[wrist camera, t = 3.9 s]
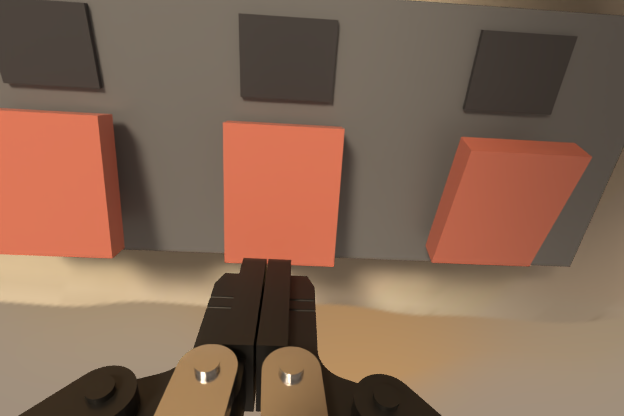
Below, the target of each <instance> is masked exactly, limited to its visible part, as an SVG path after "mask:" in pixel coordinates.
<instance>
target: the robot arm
mask: <svg viewBox="0 0 624 416" xmlns="http://www.w3.org/2000/svg"><path fill="white" fill-rule="evenodd" d="M255 394H256V411H260V412H261V416H441V415H440V414H439V413H438V412H436V411H435V410H434V409H433V408H432V407H431V406H430V405H429V404H427V403H426V402H425V401H424V400H423V399H422V398H420V397H419V396H418V395H417V394H416V393H415V392H414V391H412V390H411V389H410V388H409V387H408V386H407V385H405V384H404V383H403V382H402V381H400V380H398V379H397V378H394V377H392V376H388V375H384V374H374V375H370V376H367V377H365V378H363V379H362V380H361V381H360V382H359V383H355V382H352V381H349V380H346V379H343V378H340V377H338V376H336V375H334V374H333V373H331V372H330V371H329V370H328V369H326V368H325V366H324V365H323V364H322V363H321V361H320V359H319V356H318V351H317V330H316V312H315V290H314V286H313V284H312V283H311V281H310V280H309V278H308V277H307V276H291V260H285V259H268V266H267V259H260V258H243V261H242V265H241V269H240V273H239V274H234V273H225V274H224V275H223V276H222V277H221V278H220V279H219V280H218V281H217V282H216V283H215V285H214V288H213V291H212V294H211V298H210V300H209V303H208V306H207V309H206V312H205V315H204V318H203V321H202V324H201V327H200V330H199V333H198V336H197V339H196V342H195V345H194V348H193V349H192V350H190V351H189V352H187V353H186V354H185V355H184V356H183V357H182V358H181V359H180V361H179V362H178V364H177V366H176V367H175V368H173V369H171V370H169V371H166V372H164V373H160V374H157V375H152V376H148V377H144V378H140V379H136V376H135V374H134V373H133V372H132V371H131V370H129V369H128V368H125V367H122V366H106V367H102V368H98V369H95V370H93V371H91V372H89V373H87V374H86V375H84V376H82V377H80V378H79V379H77V380H76V381H74V382H72V383H71V384H69V385H68V386H66V387H64V388H63V389H61V390H59V391H58V392H56V393H55V394H53V395H52V396H50V397H48V398H46V399H45V400H43V401H42V402H40V403H39V404H37V405H35V406H34V407H32V408H30V409H29V410H27V411H25V412H24V413H22V414H21V415H19V416H243V415H244V411H252V412H253V411H254V403H255Z"/></svg>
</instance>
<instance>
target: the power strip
mask: <svg viewBox="0 0 624 416" xmlns="http://www.w3.org/2000/svg"><path fill="white" fill-rule="evenodd" d="M0 108H10V109H28V110H46V111H64V112H83V113H101V114H112V117H113V128H114V138H115V149H116V160H117V170H118V181H119V192H120V202H121V213H122V224H123V234H124V245H125V248H124V249H129V250H154V251H180V252H206V253H224V172H223V122H226V121H247V122H265V123H283V124H301V125H319V126H337V127H342V128H344V129H345V131H344V144H343V156H342V169H341V182H340V194H339V207H338V219H337V232H336V244H335V257H334V258H360V259H386V260H412V261H431V259H430V257H429V254H428V251H427V249H426V246H425V245H426V242H427V239H428V236H429V233H430V230H431V227H432V224H433V221H434V218H435V215H436V212H437V209H438V206H439V203H440V200H441V197H442V194H443V190H444V187H445V184H446V181H447V178H448V175H449V172H450V169H451V166H452V163H453V160H454V157H455V154H456V151H457V148H458V145H459V142H460V139H461V137H476V138H494V139H512V140H531V141H549V142H567V143H576V144H577V145H578V146H579V147H581V148H582V149H583V150H584V151H585V152H587V153H588V154H589V155H590V156H592V159H591V160H590V162H589V164H588V166H587V167H586V169H585V171H584V173H583V174H582V176H581V178H580V180H579V181H578V183H577V185H576V186H575V188H574V190H573V192H572V193H571V195H570V197H569V199H568V200H567V202H566V204H565V206H564V207H563V209H562V211H561V212H560V214H559V216H558V218H557V219H556V221H555V223H554V225H553V226H552V228H551V230H550V231H549V233H548V235H547V237H546V238H545V240H544V242H543V244H542V245H541V247H540V249H539V251H538V252H537V254H536V256H535V257H534V259H533V261H532V263H531V264H530V265H540V266H566V267H570V265H571V263H572V261H573V259H574V256H575V254H576V252H577V250H578V247H579V245H580V243H581V241H582V239H583V236H584V234H585V232H586V230H587V227H588V225H589V223H590V221H591V218H592V216H593V214H594V212H595V210H596V207H597V205H598V203H599V201H600V198H601V196H602V194H603V192H604V190H605V187H606V185H607V183H608V181H609V178H610V176H611V174H612V172H613V169H614V167H615V165H616V163H617V161H618V158H619V156H620V154H621V152H622V149H623V147H624V16H621V15H607V14H593V13H579V12H565V11H551V10H537V9H522V8H508V7H494V6H480V5H466V4H452V3H438V2H424V1H410V0H0Z"/></svg>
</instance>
